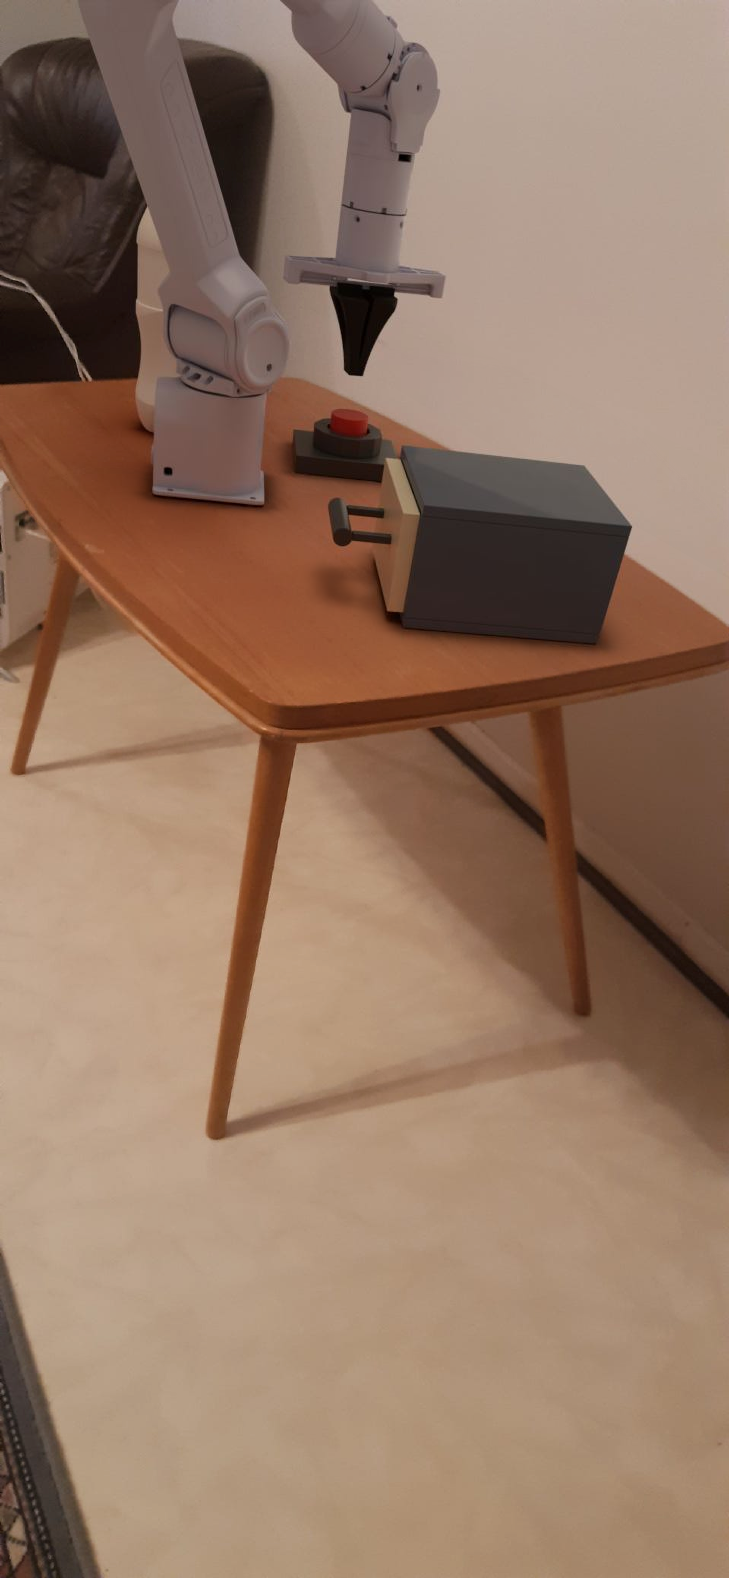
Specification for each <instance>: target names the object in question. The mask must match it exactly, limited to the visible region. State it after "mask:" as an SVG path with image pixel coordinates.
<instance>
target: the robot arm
mask: <svg viewBox="0 0 729 1578" xmlns="http://www.w3.org/2000/svg"><path fill="white" fill-rule="evenodd" d="M179 1H180V0H77V2H78V7H79V11H80V12H79V13H80V15H81V19H82V22H83V24H84V27H85V30H86V33H87V36H88V39H89V41H90V44H91V45H90V46H91V47H92V51H93V53H94V56H95V59H96V62H97V64H98V68H99V70H100V73H101V76H102V79H103V82H104V84H105V87H106V90H107V93H108V96H109V99H110V102H111V105H112V108H113V111H114V114H115V116H116V120H117V122H118V125H119V128H120V131H121V133H122V137H123V139H124V142H125V146H126V148H127V151H128V154H129V157H130V160H131V162H132V166H133V168H134V171H135V174H136V177H137V180H138V182H139V186H140V189H141V191H142V195H143V197H144V200H145V203H146V207H147V206H148V209H149V212H150V215H151V218H152V220H153V223H154V226H155V229H156V232H157V235H158V238H159V241H160V243H161V246H162V249H163V252H164V255H165V258H166V261H167V264H168V267H169V269H170V272H169V273H168V275H167V276H166V277H165V278H164V280H163V281H162V283H161V284H160V286H159V288H158V294H159V297H160V300H161V303H162V307H163V334H164V340H165V343H166V346H167V348H168V350H169V352H170V353H171V354H172V356H173V357H174V358H176V359H177V365H176V372H177V373H178V374H180V375H181V377H158V378H157V383H156V393H155V410H154V433H153V443H151V447H150V449H151V451H150V465H151V466H153V467H152V468H153V469H152V488H151V491H152V494H153V495H156V496H162V497H174V498H182V499H183V498H184V499H191V500H202V501H214V502H222V503H233V504H241V505H242V504H243V505H254V506H264V504H265V475H264V474H265V472H264V471H263V470H261V469H262V459H263V458H262V457H263V447H264V446H263V445H264V434H265V432H264V431H265V419H266V408H267V407H266V406H267V394H272V393H273V390H274V386H275V385H276V384H277V383H278V382H279V381H280V379H281V378H282V376H283V375H284V374H285V370H286V369H287V367H288V363H289V360H290V357H291V351H292V350H291V349H292V339H291V332H290V328H289V326H288V324H287V322H286V321H285V319H284V318H283V317H282V316H281V314H280V313H279V312H277V310H276V308H275V307H274V305H273V302H272V299H271V296H270V293H269V289H268V288H267V286H266V285H265V284H264V282H263V281H262V280H261V279H260V278H259V277H258V275H257V274H256V273H255V272H254V271H253V270H252V268H250V266H249V265H248V264H247V263H246V262H245V261H244V259H243V258H242V257H241V254H240V252H239V248H238V245H237V241H236V239H235V234H234V231H233V228H232V224H231V221H230V218H229V213H228V210H227V206H226V203H225V200H224V197H223V192H222V190H221V187H220V183H219V179H218V176H217V172H216V169H215V165H214V162H213V158H212V155H211V152H210V148H209V145H208V141H207V137H206V134H205V130H204V127H203V124H202V120H201V117H200V113H199V109H198V107H197V106H198V105H197V102H196V99H195V96H194V93H193V89H192V88H193V87H192V85H191V82H190V78H189V76H188V71H187V67H186V64H185V61H184V57H183V54H182V50H181V47H180V44H179V40H178V37H177V33H176V30H175V25H174V21H173V17H174V13H175V11H176V8H177V7H178V3H179ZM279 1H280V2H281V3H282V4H283V5H284V6H285V7H286V8H288V10H289V11H291V14H290V15H291V17H290V18H291V20H290V23H291V30H292V34H293V38H294V39H295V41H296V43H297V44H298V45H299V46H300V47H301V48H302V50H304V51H305V52H306V53H307V54H308V55H309V56H310V57H311V58H312V59H313V60H314V61H315V63H317V65H318V66H319V67H320V68H321V69H322V70H323V71H324V72H325V73H326V74H327V76H329V77H330V78H331V79H332V80H333V81H334V82H335V83H336V85H337V89H338V96H339V101H340V103H341V106H342V109H343V110H344V112H345V113H347V114H350V120H349V130H348V139H347V148H346V157H345V167H344V176H343V184H342V186H343V187H342V193H341V204H340V212H339V219H338V220H339V221H338V229H337V239H336V248H335V257H326V256H325V257H323V256H304V255H303V256H301V255H291V254H290V255H289V254H285V255H284V263H283V275H282V276H283V277H282V278H283V280H284V281H285V282H286V283H287V284H292V285H300V284H305V285H316V286H317V285H319V286H328V287H329V294H330V298H331V301H332V304H333V307H334V308H333V309H334V311H335V314H336V318H337V322H338V327H339V333H340V337H341V345H342V358H343V371H344V372H345V374H347V375H348V376H350V377H351V376H352V377H364V375H365V371H366V367H367V365H368V362H369V359H370V355H371V353H372V351H373V349H374V347H375V345H376V342H377V341H378V338H379V337H380V334H381V332H383V329H384V328H385V326H386V325H387V324H388V322H389V320H390V318H391V317H392V316H393V314H394V313H395V312H396V309H397V306H398V303H399V302H398V300H399V299H398V297H396V296H395V293H398V294H408V295H418V296H429V297H430V298H434V299H435V298H436V299H443V296H444V295H443V294H444V291H445V290H444V288H445V282H446V276H447V275H445V274H444V273H442V272H440V271H439V270H429V269H423V268H416V267H411V266H404V265H400V261H401V254H402V249H403V240H404V235H405V234H404V233H405V226H406V221H407V220H406V219H407V214H408V207H409V202H410V201H409V199H410V193H411V187H412V179H413V171H414V165H415V158H416V154H418V153H419V152H420V151H421V150H420V149H421V147H423V144H424V136H425V131H426V128H427V125H428V123H429V122H430V120H431V119H432V117H433V115H434V113H435V112H436V109H437V107H438V103H439V100H440V95H441V89H440V88H438V85H439V84H438V81H439V80H438V70H437V67H436V64H435V62H434V60H433V58H432V56H431V55H430V53H429V51H428V50H427V48H425V47H424V46H423V45H422V44H420V43H418V42H413V41H405V40H404V37H403V36H402V34H401V33H400V32H399V31H398V29H397V28H398V23H397V22H396V20H395V19H394V18H393V17H392V15H387V14H384V12H383V11H382V10H381V8H380V7H379V6H378V5H377V4H376V3H375V1H374V0H279ZM348 279H349V280H348ZM350 279H351V280H350Z"/></svg>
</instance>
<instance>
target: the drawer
mask: <svg viewBox="0 0 729 1578" xmlns="http://www.w3.org/2000/svg"><path fill="white" fill-rule="evenodd" d="M378 499H379V500H378V505H377V507H372V506H362V505H354V504H353V505H352V504H347V503H346V501H345V500H344V499H343V498H341V497H334V498H332V499H330V500H329V502H328V504H327V511H328V516H329V523H330V529H331V535H332V541H333V542H334V544H335V545H337V546H338V547H346V546H349V545H350V544H351V543H352V542H360V543H371V544H372V545H371V546H372V547H371V549H372V553H373V558H374V561H375V565H376V570H377V574H378V577H379V582H380V586H381V591H382V595H383V599H384V603H385V607H386V611H387V612H393V613H399V612H404V607H405V601H406V595H407V590H408V584H409V578H410V572H411V566H412V561H413V555H414V549H415V543H416V538H417V532H418V526H419V520H420V514H421V511H420V508H419V505H418V502H417V500H416V497H415V494H414V496H413V493H412V490H411V487H410V484H409V482H408V479H407V476H406V473H405V470H404V468H403V465H402V462H401V460H400V458H398V459H391V458H386V459H385V465H384V471H383V478H382V482H381V486H380V491H379V498H378ZM350 516H354V517H363V518H375V525H374V532H373V531H364V530H353V529H352V526H351V522H350V521H351V520H350Z"/></svg>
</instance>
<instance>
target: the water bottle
mask: <svg viewBox="0 0 729 1578" xmlns="http://www.w3.org/2000/svg"><path fill="white" fill-rule="evenodd" d="M136 244H137V296H136V297H137V298H136V300H135V315H136V319H137V324H138V329H139V336H140V361H139V370H138V376H137V380H136V384H135V388H134V389H135V396H134V397H135V399H134V400H135V407H136V411H137V414H138V418H139V420H140V422H141V424H142V426H143V428H144V429H145V430H146V431H148V432H150V433H152V434H154V410H155V393H156V383H157V378H158V377H181V375H180V374H178V373H177V372H176V365H177V359H176V358H174V357H173V356H172V354H171V353H170V352H169V350H168V348H167V346H166V343H165V340H164V334H163V307H162V303H161V300H160V297H159V294H158V288H159V286H160V284H161V283H162V281H163V280H164V278H165V277H166V276H167V275H168V273H169V272H170V269H169V267H168V264H167V261H166V258H165V255H164V252H163V249H162V246H161V243H160V241H159V238H158V235H157V232H156V229H155V226H154V223H153V220H152V218H151V215H150V212H149V209H148V206H147V205H146V209H145V210H144V213H143V214H142V217H141V220H140V221H139V225H138V227H137V233H136Z"/></svg>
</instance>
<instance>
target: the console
mask: <svg viewBox="0 0 729 1578" xmlns="http://www.w3.org/2000/svg"><path fill="white" fill-rule="evenodd" d="M330 421H331V417H328V418H321V419H319V420H316V421H314V424H313V430H303V429H293V432H292V443H291V448H292V449H291V450H292V457H293V469H294V473H296V474H306V475H316V476H327V477H333V478H343V479H352V480H353V479H354V480H361V481H370V482H371V481H373V482H381V483H382V478H383V471H384V465H385V459H386V458H391V459H399V458H398V454H397V452H396V449H395V445H394V443H393V440H392V439H383V433H382V430H381V429H380V428H378V427H377V426H375V425H372V424H370V423H368V427H367V434H366V435H363V436H352V435H343V434H340V433H336V432H333V431H332V430H330Z"/></svg>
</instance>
